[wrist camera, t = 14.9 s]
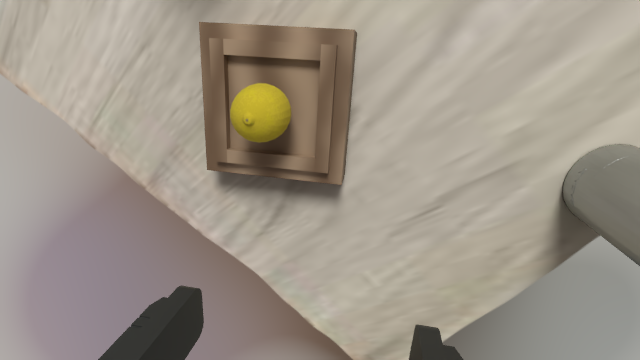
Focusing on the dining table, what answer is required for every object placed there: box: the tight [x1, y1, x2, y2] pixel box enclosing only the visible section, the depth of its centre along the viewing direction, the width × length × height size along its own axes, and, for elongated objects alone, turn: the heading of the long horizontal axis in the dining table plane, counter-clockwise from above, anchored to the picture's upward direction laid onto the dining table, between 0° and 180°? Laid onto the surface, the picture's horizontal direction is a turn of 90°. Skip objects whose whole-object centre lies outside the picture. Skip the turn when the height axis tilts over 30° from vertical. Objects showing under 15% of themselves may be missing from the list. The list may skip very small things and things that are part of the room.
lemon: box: [230, 83, 291, 143], centre depth 33 cm, size 6×6×8 cm
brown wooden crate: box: [199, 22, 357, 185], centre depth 38 cm, size 16×16×5 cm
